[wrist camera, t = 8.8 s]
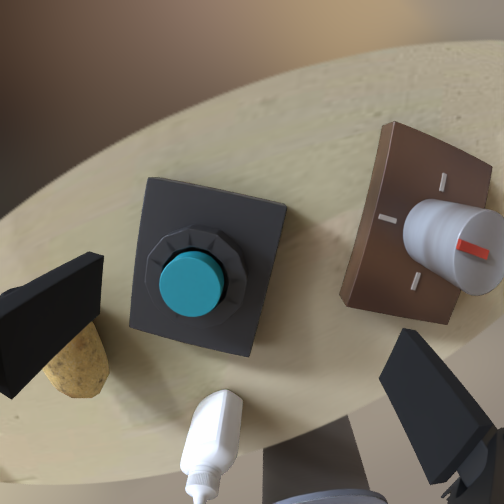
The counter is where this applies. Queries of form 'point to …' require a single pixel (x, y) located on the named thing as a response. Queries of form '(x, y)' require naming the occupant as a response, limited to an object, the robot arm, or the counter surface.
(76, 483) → the counter surface
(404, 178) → the dial panel
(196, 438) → the eye dropper bottle
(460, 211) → the dial
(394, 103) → the counter surface
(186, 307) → the teal round puck
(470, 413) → the robot arm
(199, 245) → the push button box
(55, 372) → the potato
